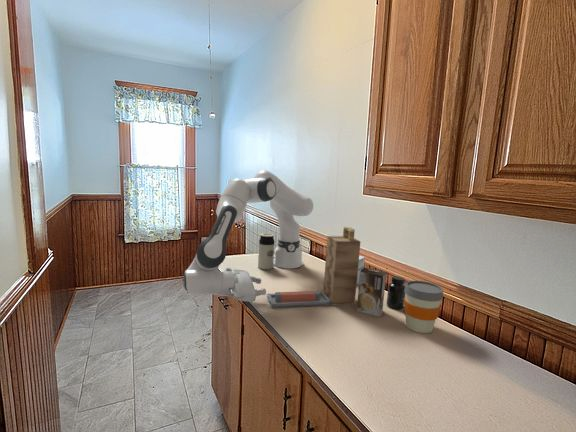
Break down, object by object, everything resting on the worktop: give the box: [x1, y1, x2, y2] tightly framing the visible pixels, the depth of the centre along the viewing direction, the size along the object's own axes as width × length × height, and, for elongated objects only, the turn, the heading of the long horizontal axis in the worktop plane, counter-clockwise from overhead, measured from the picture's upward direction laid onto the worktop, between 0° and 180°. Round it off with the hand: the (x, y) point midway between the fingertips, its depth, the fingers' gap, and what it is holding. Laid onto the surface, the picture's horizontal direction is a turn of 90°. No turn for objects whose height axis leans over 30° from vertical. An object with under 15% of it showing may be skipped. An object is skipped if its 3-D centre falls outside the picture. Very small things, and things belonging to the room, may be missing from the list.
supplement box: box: [356, 255, 366, 286], centre depth 158 cm, size 7×7×13 cm
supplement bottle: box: [386, 275, 406, 310], centre depth 132 cm, size 7×7×12 cm
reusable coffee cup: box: [403, 280, 444, 334], centre depth 115 cm, size 13×12×15 cm
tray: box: [266, 291, 332, 309], centre depth 132 cm, size 10×24×2 cm, turn 104°
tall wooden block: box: [322, 226, 361, 306], centre depth 134 cm, size 10×10×30 cm
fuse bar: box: [274, 290, 320, 303], centre depth 131 cm, size 3×18×3 cm, turn 104°
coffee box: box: [356, 267, 387, 318], centre depth 125 cm, size 9×6×16 cm
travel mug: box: [257, 232, 275, 271], centre depth 171 cm, size 8×8×18 cm
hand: (263, 286), depth 127 cm, fingers open, 8 cm apart
